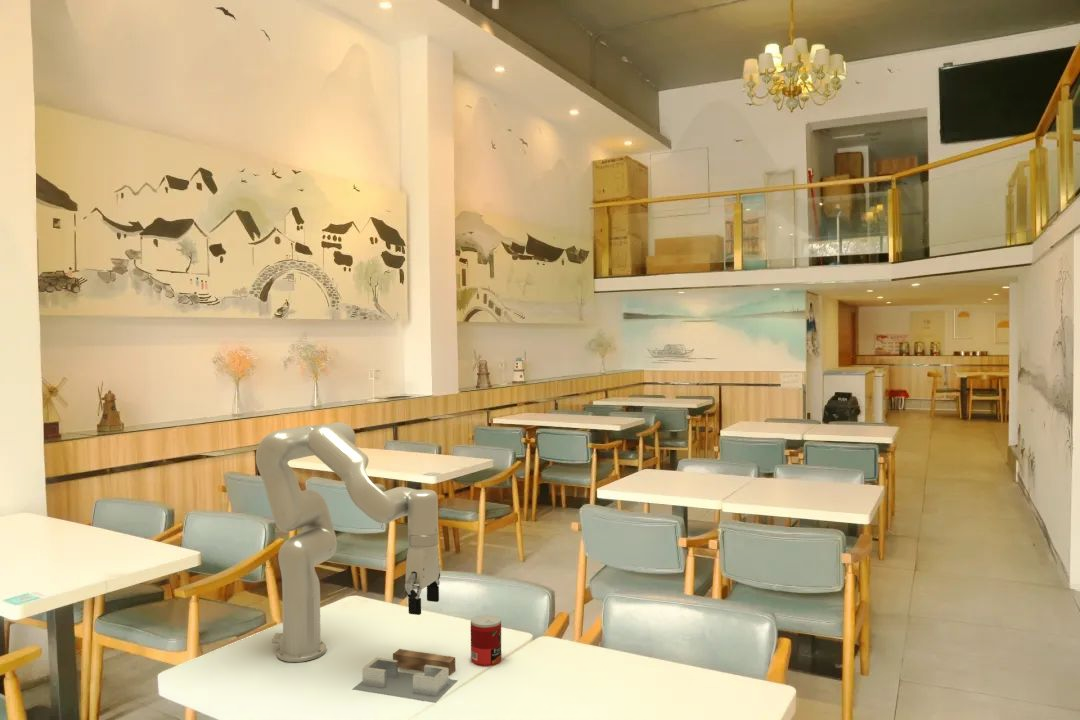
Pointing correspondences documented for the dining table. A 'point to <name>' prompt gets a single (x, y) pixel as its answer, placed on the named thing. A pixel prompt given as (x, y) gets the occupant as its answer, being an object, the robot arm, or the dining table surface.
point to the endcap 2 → (431, 680)
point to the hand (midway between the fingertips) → (424, 607)
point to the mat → (403, 688)
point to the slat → (422, 660)
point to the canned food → (486, 640)
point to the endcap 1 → (379, 672)
